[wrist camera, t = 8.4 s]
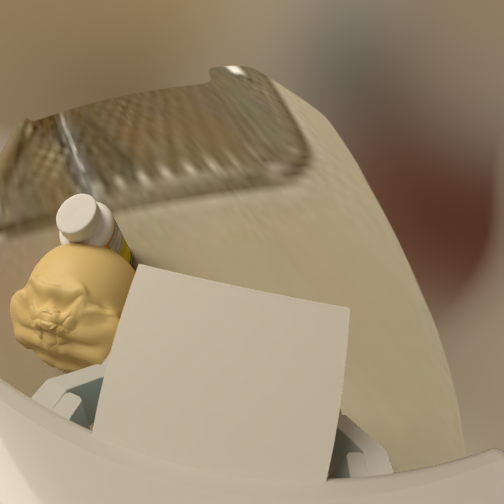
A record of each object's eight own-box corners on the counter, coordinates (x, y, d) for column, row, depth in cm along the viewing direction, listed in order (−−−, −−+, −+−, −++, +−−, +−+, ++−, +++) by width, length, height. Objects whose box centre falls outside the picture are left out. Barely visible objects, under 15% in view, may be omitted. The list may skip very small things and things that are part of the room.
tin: (258, 446, 13) (317, 513, 4) (164, 426, 13) (87, 467, 4) (274, 359, 15) (349, 308, 7) (184, 341, 15) (138, 263, 7)
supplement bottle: (83, 282, 28) (38, 237, 19) (97, 238, 30) (63, 183, 21) (126, 291, 28) (90, 246, 19) (139, 245, 31) (114, 187, 21)
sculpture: (49, 364, 23) (-15, 345, 13) (71, 263, 28) (26, 210, 19) (145, 391, 24) (105, 391, 14) (162, 276, 29) (139, 220, 20)
